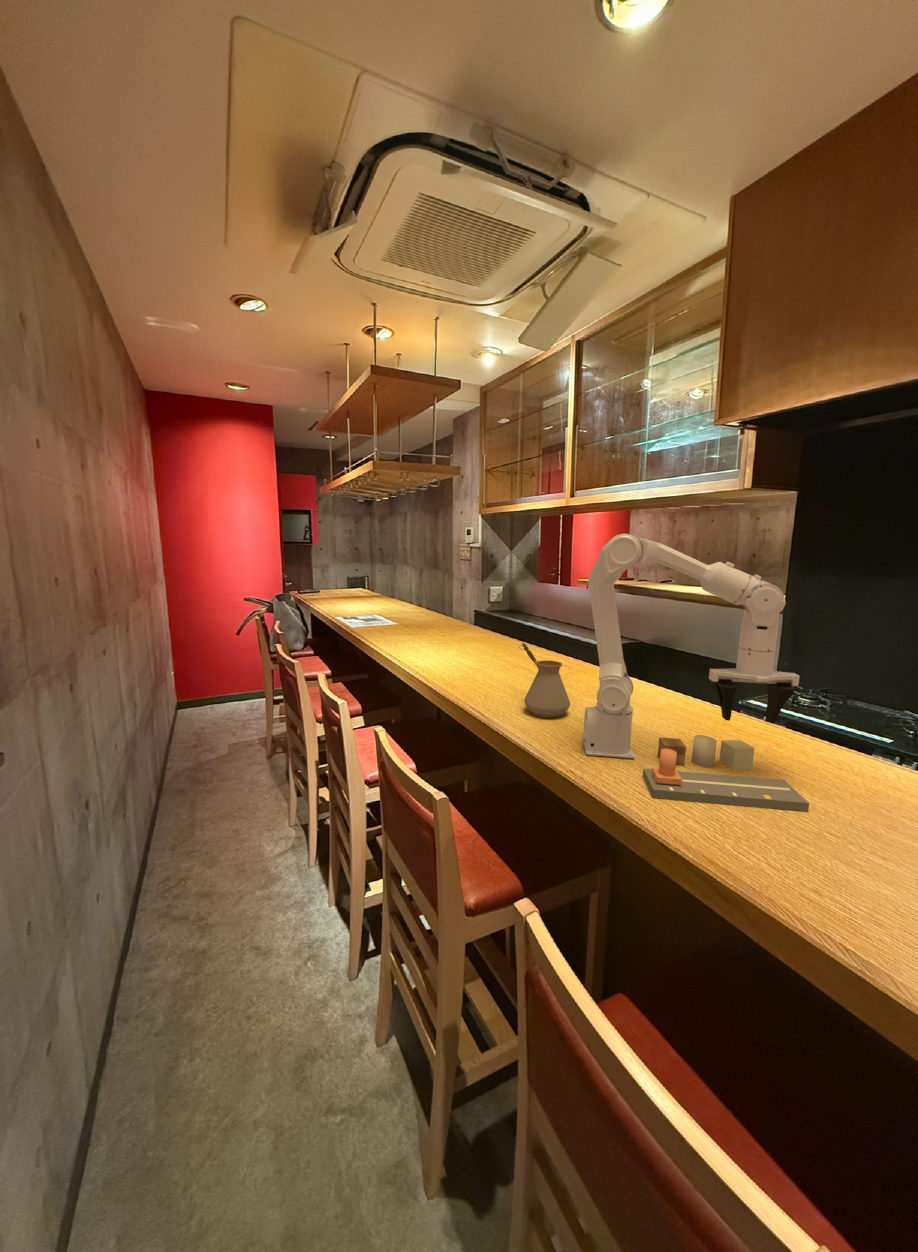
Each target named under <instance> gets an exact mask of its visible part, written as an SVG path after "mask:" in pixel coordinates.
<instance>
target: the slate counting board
mask: <svg viewBox="0 0 918 1252" xmlns="http://www.w3.org/2000/svg"><path fill="white" fill-rule="evenodd" d="M676 771H677V772H678V774H679V775H680V777H681V778H682V785H676V784H664V783H657V782H656V780H655V778H654V776H653V774H652V768H644V767H643V770H642V778H643V780H644V782H645V784H646V786H647V788H648V791H649V792H650V795H651V797H652V798H653V799H661V800H671V801H672V800H673V801H685V802H697V803H704V804H707V803H708V804H718V805H727V806H728V805H729V806H738V807H751V808H752V807H753V808H761V809H772V810H774V809H775V810H785V811H787V810H788V811H796V812H807V813H808V812H809V807H810V806H809V805H810V802H809V801H807V800H806V799H805V797H804V796H803V795H801V794H800V793H799V792H798V791H797V790H796V789H795V787H793V786H792V785H791V784H789V782H787V781H786V780H785V779H779V778H778V779H777V778H766V777H764V778H763V777H755V776H752V777H751V776H741V775H728V774H718V773H716V774H715V773H706V772H705V773H703V772H694V771H693V772H692V771H680V770H676Z"/></svg>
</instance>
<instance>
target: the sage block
mask: <svg viewBox="0 0 918 1252" xmlns="http://www.w3.org/2000/svg"><path fill="white" fill-rule="evenodd" d="M754 756H755V747H753V746H752V745H750V744H748V743H746V742H745V741H743V740H742V739H727V740H726V739H725V740H724V739H723V740H721V743H720V750H719V761H720V762H719V761H718V762H719V763H721V762H722V763H723V764H724V765H723V764H722V763H721V764H722V765H723V766H725V765H726V766H727V767H726V766H725V767H726V768H727V769H729V768H730V769H729V770H731V769H732V770H731V771H732V772H733V770H740V771H753V763H754Z"/></svg>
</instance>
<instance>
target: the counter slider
mask: <svg viewBox="0 0 918 1252" xmlns="http://www.w3.org/2000/svg"><path fill="white" fill-rule="evenodd" d="M676 757H677V752H676V751H674V750H672V749H661V753H660V759H659V766H658V767H656V766H655V767H654V766H652V767H651V769H652V774H653V776H654V778H655V780H656V782H657V783H664V784H676V785H682V778H681V777H680V775H679V774H678V772H677V771H678V770H677V769H676V767H677V765H676Z"/></svg>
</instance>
